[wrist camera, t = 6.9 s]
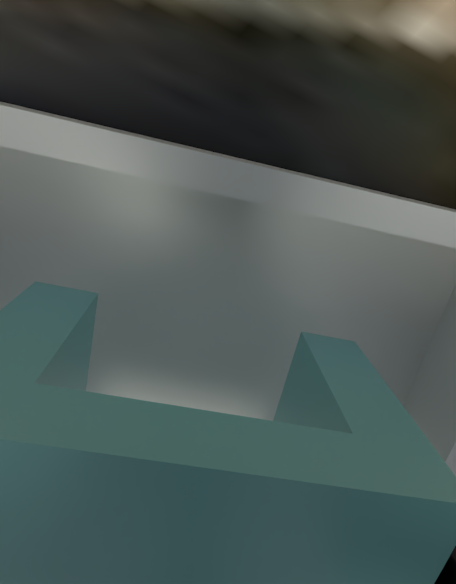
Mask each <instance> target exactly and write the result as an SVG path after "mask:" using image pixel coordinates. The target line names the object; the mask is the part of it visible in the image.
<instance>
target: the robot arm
mask: <svg viewBox="0 0 456 584" xmlns="http://www.w3.org/2000/svg"><path fill="white" fill-rule="evenodd" d="M434 584H456V546H455V548H454V550H453V551H452V553H451V555H450V557H449V558H448V560H447V562H446V564H445V566H444V567H443V569H442V571H441V573H440V574H439V576H438V578H437V580H436V582H435V583H434Z"/></svg>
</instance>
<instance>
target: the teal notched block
mask: <svg viewBox="0 0 456 584" xmlns="http://www.w3.org/2000/svg"><path fill="white" fill-rule="evenodd" d="M97 300H98V293H95V292H89V291H84V290H79V289H74V288H68V287H63V286H58V285H52V284H47V283H42V282H36V281H35V282H34V283H33V284H32V285H30V286H29V287H28V288H27V289H25V290H24V291H23V292H22V293H21V294H19V295H18V296H17V297H16V298H14V299H13V300H12V301H11V302H10V303H8V304H7V305H6V306H5V307H3V308H2V309H1V310H0V584H434V583H435V582H436V580H437V578H438V576H439V574H440V573H441V571H442V569H443V567H444V566H445V564H446V562H447V560H448V558H449V557H450V555H451V553H452V551H453V550H454V548H455V546H456V476H455V475H454V473H453V472H452V471H451V469H450V468H449V467H448V465H447V464H446V463H445V461H444V460H443V459H442V457H441V456H440V455H439V453H438V452H437V451H436V449H435V448H434V447H433V445H432V444H431V443H430V441H429V440H428V439H427V437H426V436H425V435H424V433H423V432H422V431H421V429H420V428H419V427H418V425H417V424H416V423H415V421H414V420H413V419H412V417H411V416H410V415H409V413H408V412H407V411H406V409H405V408H404V407H403V405H402V404H401V403H400V401H399V400H398V399H397V397H396V396H395V395H394V393H393V392H392V391H391V389H390V388H389V387H388V385H387V384H386V383H385V381H384V380H383V379H382V377H381V376H380V375H379V373H378V372H377V371H376V369H375V368H374V367H373V365H372V364H371V363H370V361H369V360H368V359H367V357H366V356H365V355H364V353H363V352H362V351H361V349H360V348H359V346H358V345H357V344H356V342H355V341H350V340H344V339H339V338H334V337H328V336H323V335H318V334H313V333H307V332H302V331H301V334H300V337H299V340H298V343H297V346H296V349H295V353H294V356H293V359H292V362H291V365H290V368H289V372H288V375H287V378H286V381H285V384H284V387H283V391H282V394H281V397H280V400H279V403H278V406H277V410H276V413H275V416H274V419H273V421H270V420H264V419H258V418H251V417H245V416H239V415H233V414H226V413H220V412H214V411H207V410H201V409H195V408H188V407H182V406H176V405H169V404H163V403H157V402H150V401H144V400H138V399H131V398H125V397H119V396H113V395H106V394H100V393H94V392H87V391H86V385H87V377H88V370H89V362H90V354H91V346H92V339H93V331H94V323H95V315H96V308H97Z"/></svg>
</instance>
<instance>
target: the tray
mask: <svg viewBox="0 0 456 584" xmlns="http://www.w3.org/2000/svg"><path fill="white" fill-rule="evenodd" d="M35 281H36V282H42V283H47V284H52V285H58V286H63V287H68V288H74V289H79V290H84V291H89V292H95V293H98V300H97V308H96V315H95V323H94V331H93V339H92V346H91V354H90V362H89V370H88V377H87V385H86V391H87V392H94V393H100V394H106V395H113V396H119V397H125V398H131V399H138V400H144V401H150V402H157V403H163V404H169V405H176V406H182V407H188V408H195V409H201V410H207V411H214V412H220V413H226V414H233V415H239V416H245V417H251V418H258V419H264V420H270V421H273V419H274V416H275V413H276V410H277V406H278V403H279V400H280V397H281V394H282V391H283V387H284V384H285V381H286V378H287V375H288V372H289V368H290V365H291V362H292V359H293V356H294V353H295V349H296V346H297V343H298V340H299V337H300V334H301V331H302V332H307V333H313V334H318V335H323V336H328V337H334V338H339V339H344V340H350V341H355V342H356V344H357V345H358V346H359V348H360V349H361V351H362V352H363V353H364V355H365V356H366V357H367V359H368V360H369V361H370V363H371V364H372V365H373V367H374V368H375V369H376V371H377V372H378V373H379V375H380V376H381V377H382V379H383V380H384V381H385V383H386V384H387V385H388V387H389V388H390V389H391V391H392V392H393V393H394V395H395V396H396V397H397V399H398V400H399V401H400V403H401V404H402V405H403V407H404V408H405V409H406V411H407V412H408V413H409V415H410V416H411V417H412V419H413V420H414V421H415V423H416V424H417V425H418V427H419V428H420V429H421V431H422V432H423V433H424V435H425V436H426V437H427V439H428V440H429V441H430V443H431V444H432V445H433V447H434V448H435V449H436V451H437V452H438V453H439V455H440V456H441V457H442V459H443V460H444V461H445V463H446V464H447V465H448V467H449V468H450V469H451V471H452V472H453V473H454V475H455V476H456V209H452V208H447V207H443V206H439V205H435V204H431V203H426V202H422V201H418V200H414V199H409V198H405V197H401V196H397V195H393V194H388V193H384V192H380V191H376V190H372V189H367V188H363V187H359V186H355V185H351V184H346V183H342V182H338V181H334V180H329V179H325V178H321V177H317V176H313V175H308V174H304V173H300V172H296V171H292V170H287V169H283V168H279V167H275V166H271V165H266V164H262V163H258V162H254V161H249V160H245V159H241V158H237V157H233V156H228V155H224V154H220V153H216V152H212V151H207V150H203V149H199V148H195V147H191V146H186V145H182V144H178V143H174V142H169V141H165V140H161V139H157V138H153V137H148V136H144V135H140V134H136V133H132V132H127V131H123V130H119V129H115V128H111V127H106V126H102V125H98V124H94V123H89V122H85V121H81V120H77V119H73V118H68V117H64V116H60V115H56V114H52V113H47V112H43V111H39V110H35V109H31V108H26V107H22V106H18V105H14V104H9V103H5V102H1V101H0V310H1V309H2V308H3V307H5V306H6V305H7V304H8V303H10V302H11V301H12V300H13V299H14V298H16V297H17V296H18V295H19V294H21V293H22V292H23V291H24V290H25V289H27V288H28V287H29V286H30V285H32V284H33V283H34V282H35Z"/></svg>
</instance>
